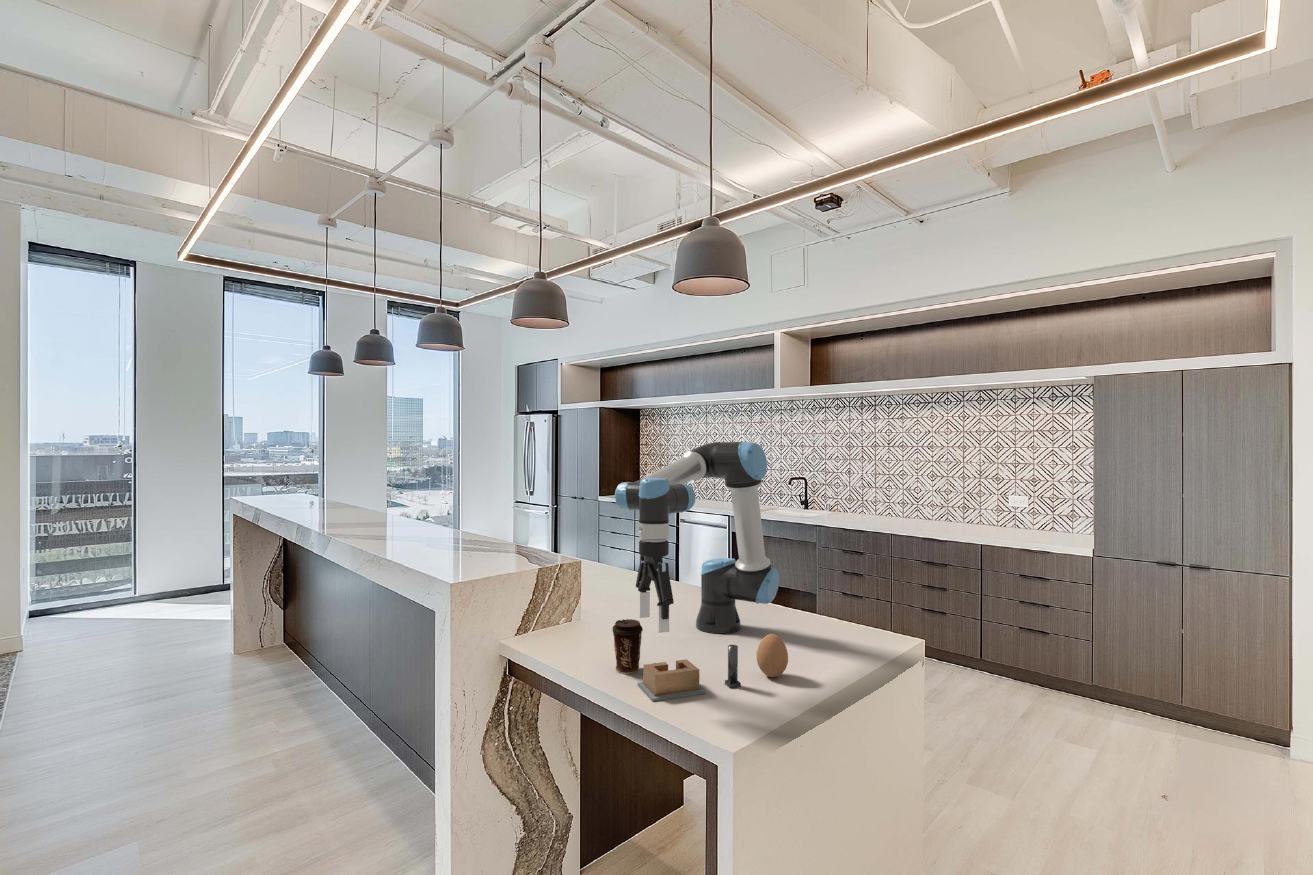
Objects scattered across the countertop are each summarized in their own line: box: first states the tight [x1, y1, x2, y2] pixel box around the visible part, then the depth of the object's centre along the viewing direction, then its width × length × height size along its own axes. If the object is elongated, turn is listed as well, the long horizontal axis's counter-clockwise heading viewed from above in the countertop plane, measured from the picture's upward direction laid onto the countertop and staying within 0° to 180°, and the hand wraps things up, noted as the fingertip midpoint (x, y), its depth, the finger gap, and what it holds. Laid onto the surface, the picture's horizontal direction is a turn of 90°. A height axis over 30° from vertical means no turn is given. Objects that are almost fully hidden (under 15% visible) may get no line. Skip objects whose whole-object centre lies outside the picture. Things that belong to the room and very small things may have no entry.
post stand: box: [724, 644, 742, 689], centre depth 158 cm, size 3×3×10 cm
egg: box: [756, 633, 789, 678], centre depth 164 cm, size 8×8×11 cm
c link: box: [642, 658, 700, 696], centre depth 155 cm, size 12×8×5 cm, turn 111°
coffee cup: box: [612, 618, 644, 675], centre depth 169 cm, size 9×8×13 cm
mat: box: [637, 681, 706, 702], centre depth 155 cm, size 14×11×1 cm
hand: (653, 624), depth 154 cm, fingers open, 13 cm apart
